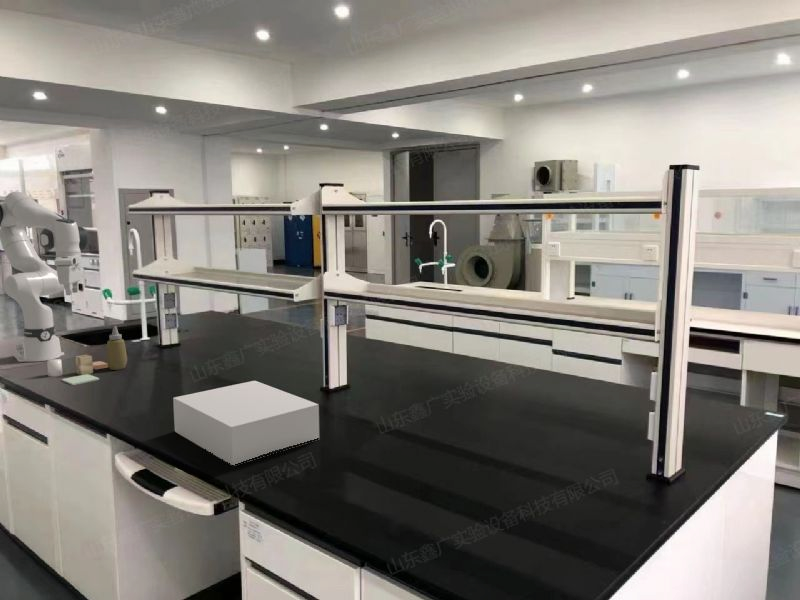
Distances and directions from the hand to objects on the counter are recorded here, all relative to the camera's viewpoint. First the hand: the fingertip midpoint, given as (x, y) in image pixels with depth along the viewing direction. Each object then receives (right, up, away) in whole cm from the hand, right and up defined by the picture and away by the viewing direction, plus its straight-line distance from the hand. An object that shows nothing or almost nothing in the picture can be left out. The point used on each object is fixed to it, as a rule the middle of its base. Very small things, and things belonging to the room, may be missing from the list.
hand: (72, 293), depth 249 cm
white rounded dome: (-7, -33, -1) cm, 33 cm away
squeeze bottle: (+14, -32, +10) cm, 36 cm away
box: (+87, -43, -67) cm, 118 cm away
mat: (+8, -34, -8) cm, 36 cm away
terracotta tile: (+4, -31, +13) cm, 34 cm away
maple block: (+4, -32, +3) cm, 33 cm away
